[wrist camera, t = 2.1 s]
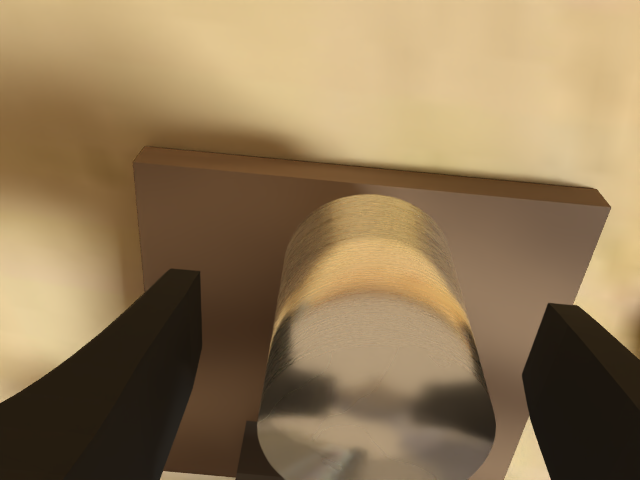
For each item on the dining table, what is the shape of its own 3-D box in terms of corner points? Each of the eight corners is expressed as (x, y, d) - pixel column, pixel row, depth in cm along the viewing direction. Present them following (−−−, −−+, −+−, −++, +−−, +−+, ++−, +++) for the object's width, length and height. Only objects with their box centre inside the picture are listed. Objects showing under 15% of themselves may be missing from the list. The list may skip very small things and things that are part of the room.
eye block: (489, 476, 22) (542, 699, 16) (168, 447, 22) (100, 661, 16) (596, 189, 16) (751, 382, 10) (144, 146, 15) (17, 314, 10)
